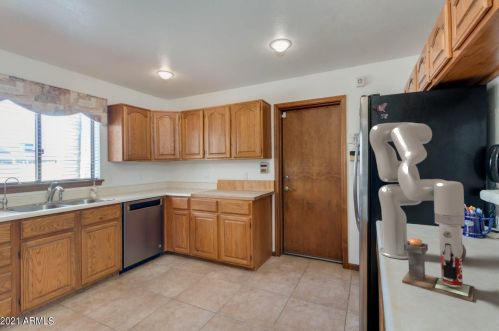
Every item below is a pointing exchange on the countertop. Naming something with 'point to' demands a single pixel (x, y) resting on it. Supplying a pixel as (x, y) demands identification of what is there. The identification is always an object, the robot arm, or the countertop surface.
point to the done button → (416, 242)
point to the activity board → (429, 282)
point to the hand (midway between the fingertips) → (451, 274)
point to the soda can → (458, 281)
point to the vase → (463, 252)
